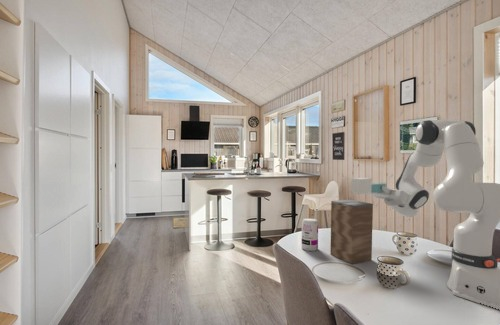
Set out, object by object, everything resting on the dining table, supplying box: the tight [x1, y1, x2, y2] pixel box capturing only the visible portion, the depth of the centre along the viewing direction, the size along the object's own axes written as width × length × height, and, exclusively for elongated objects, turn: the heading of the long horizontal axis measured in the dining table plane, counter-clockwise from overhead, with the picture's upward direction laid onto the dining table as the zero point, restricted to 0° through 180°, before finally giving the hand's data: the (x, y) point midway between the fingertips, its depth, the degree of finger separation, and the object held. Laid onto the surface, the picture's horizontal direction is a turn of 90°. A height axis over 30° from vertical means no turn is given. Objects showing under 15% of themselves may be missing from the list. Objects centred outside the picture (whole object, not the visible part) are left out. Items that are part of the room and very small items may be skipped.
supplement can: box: [301, 217, 319, 252], centre depth 152 cm, size 8×8×15 cm
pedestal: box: [329, 199, 374, 265], centre depth 140 cm, size 14×12×26 cm
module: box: [350, 177, 387, 195], centre depth 145 cm, size 5×19×7 cm, turn 117°
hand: (377, 186), depth 147 cm, fingers closed on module, 3 cm apart
